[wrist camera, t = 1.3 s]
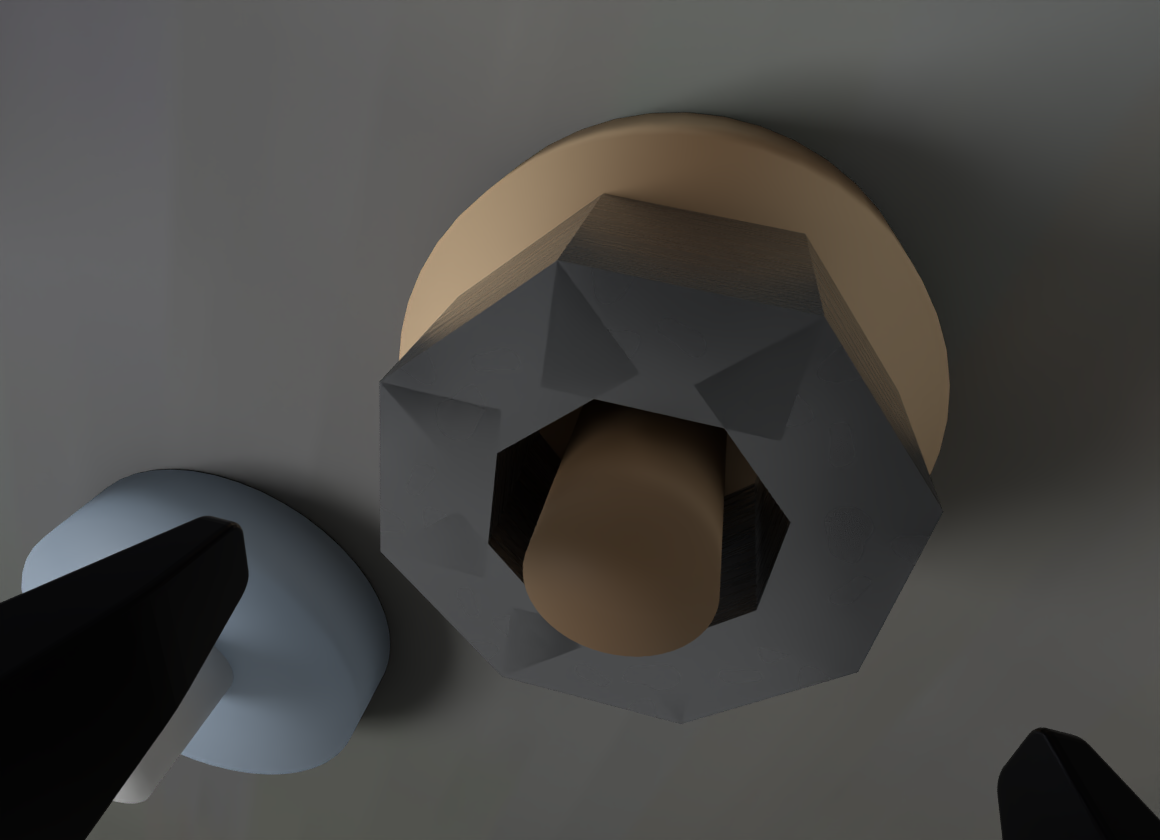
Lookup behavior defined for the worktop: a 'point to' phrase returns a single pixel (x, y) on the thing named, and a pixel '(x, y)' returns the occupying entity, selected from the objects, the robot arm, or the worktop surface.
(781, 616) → the ring
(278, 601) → the hub
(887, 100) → the worktop surface
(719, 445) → the stand
